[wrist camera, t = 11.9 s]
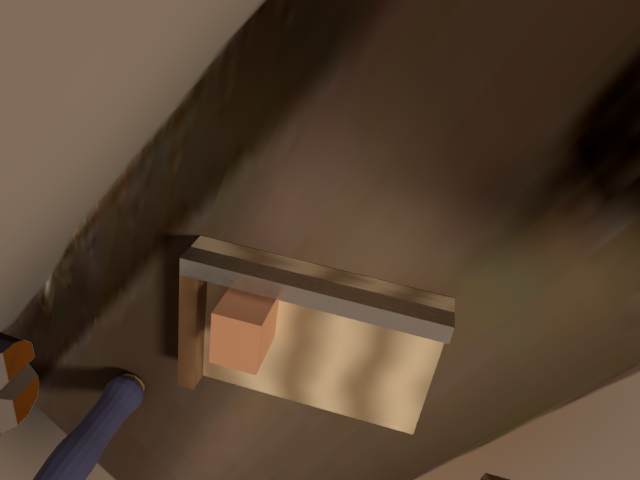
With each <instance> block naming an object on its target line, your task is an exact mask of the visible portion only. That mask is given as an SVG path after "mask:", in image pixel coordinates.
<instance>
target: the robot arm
mask: <svg viewBox="0 0 640 480" xmlns="http://www.w3.org/2000/svg"><path fill="white" fill-rule="evenodd" d="M34 357H35V355H34V351H33V347H32V343H30V342H28V341H25V340H23V339H20V338H17V337H13V336H10V335H7V334H4V333H1V332H0V433H2V432H4V431H7V430H9V429H11V428H14V427H16V426H18V425H19V424H20V423H21V421H22V420H23V419H24V418H25V417H26V416H27V415H28V414H29V412H30V411H31V409H32V407H33V405H34V403H35V401H36V399H37V397H38V391H39V379H38V375H37V373H36V372H35V371H34V370H33V368H32V367H31V366H30V365H29V363H30V362H31V361H32V360H33V359H34ZM480 480H509V479H505V478H502V477H499V476H494V475H491V474H488V473H485V474H484V475H483V476H482V477H481V479H480Z"/></svg>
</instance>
